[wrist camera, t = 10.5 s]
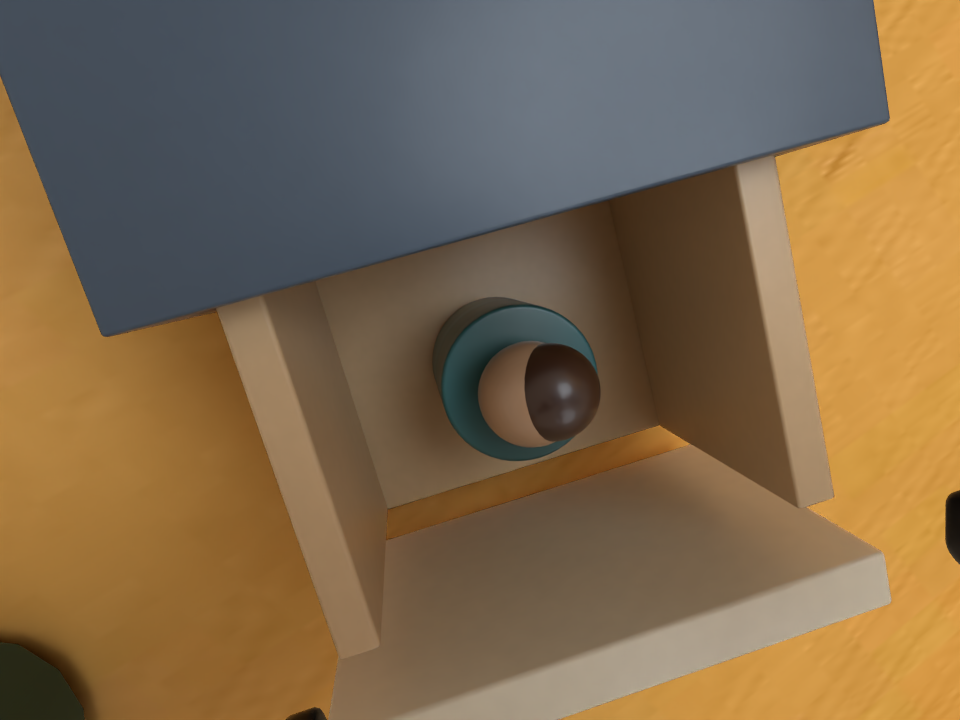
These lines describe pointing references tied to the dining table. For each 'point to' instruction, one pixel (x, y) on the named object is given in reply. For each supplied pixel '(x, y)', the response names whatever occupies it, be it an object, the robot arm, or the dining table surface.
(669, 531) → the drawer
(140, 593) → the dining table surface
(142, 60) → the cabinet
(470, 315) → the doll
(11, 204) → the dining table surface
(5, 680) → the character mug
